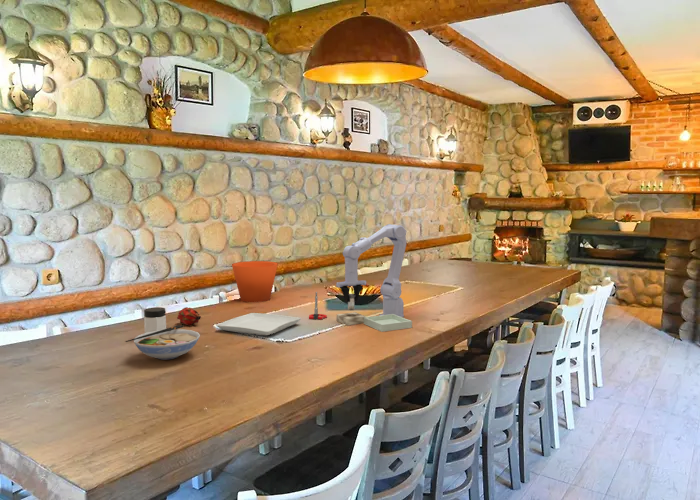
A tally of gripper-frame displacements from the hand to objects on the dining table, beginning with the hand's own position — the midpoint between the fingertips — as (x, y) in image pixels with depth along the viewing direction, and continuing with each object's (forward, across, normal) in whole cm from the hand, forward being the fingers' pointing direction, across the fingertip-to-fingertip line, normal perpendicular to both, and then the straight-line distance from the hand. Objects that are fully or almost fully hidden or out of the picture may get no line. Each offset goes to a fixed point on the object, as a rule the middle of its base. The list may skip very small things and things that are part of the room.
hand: (351, 301), depth 249 cm
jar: (+10, +84, -11) cm, 85 cm away
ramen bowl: (+10, +84, +17) cm, 86 cm away
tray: (+10, -11, +14) cm, 20 cm away
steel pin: (+4, 0, 0) cm, 4 cm away
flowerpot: (+10, +23, -70) cm, 74 cm away
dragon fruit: (+10, +67, -28) cm, 73 cm away
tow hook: (+10, +10, -15) cm, 21 cm away
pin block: (+10, 0, 0) cm, 10 cm away
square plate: (+10, +41, -8) cm, 43 cm away
